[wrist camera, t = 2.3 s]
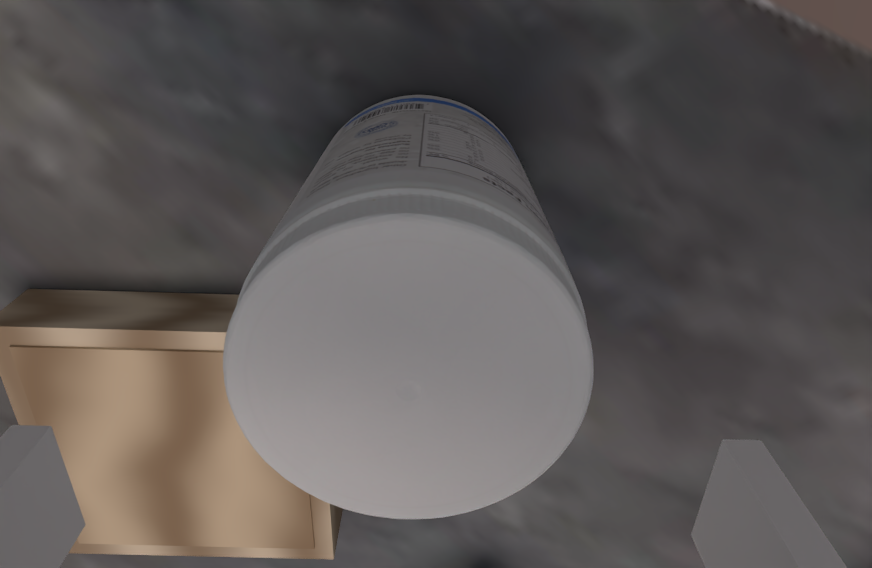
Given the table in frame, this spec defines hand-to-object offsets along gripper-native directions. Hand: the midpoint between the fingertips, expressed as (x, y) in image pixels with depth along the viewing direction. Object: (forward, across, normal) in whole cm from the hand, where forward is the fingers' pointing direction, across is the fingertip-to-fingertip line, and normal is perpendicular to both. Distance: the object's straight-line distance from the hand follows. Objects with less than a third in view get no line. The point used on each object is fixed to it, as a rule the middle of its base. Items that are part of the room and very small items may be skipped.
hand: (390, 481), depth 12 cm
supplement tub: (+18, 0, 0) cm, 18 cm away
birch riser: (+18, +12, +13) cm, 25 cm away
